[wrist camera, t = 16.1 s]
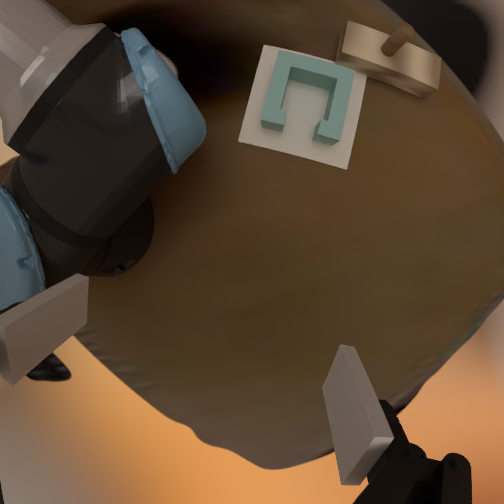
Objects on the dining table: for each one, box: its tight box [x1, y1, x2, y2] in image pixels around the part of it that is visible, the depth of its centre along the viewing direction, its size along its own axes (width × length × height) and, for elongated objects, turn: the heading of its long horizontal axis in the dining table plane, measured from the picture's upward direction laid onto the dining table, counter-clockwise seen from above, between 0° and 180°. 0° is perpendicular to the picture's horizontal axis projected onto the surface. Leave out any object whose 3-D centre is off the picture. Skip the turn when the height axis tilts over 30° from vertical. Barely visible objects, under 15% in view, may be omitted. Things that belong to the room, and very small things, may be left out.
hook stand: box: [335, 21, 441, 98], centre depth 29 cm, size 13×5×12 cm, turn 76°
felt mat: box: [238, 45, 367, 170], centre depth 37 cm, size 14×14×1 cm
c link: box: [260, 50, 355, 146], centre depth 34 cm, size 9×9×5 cm
